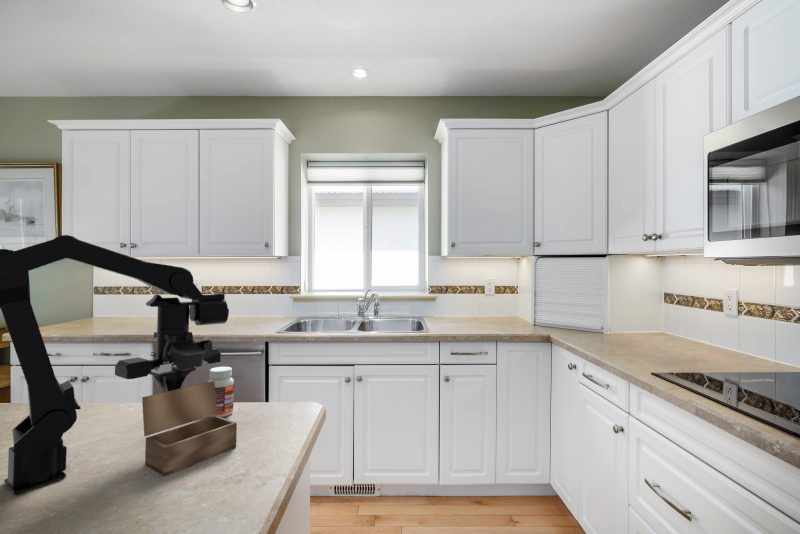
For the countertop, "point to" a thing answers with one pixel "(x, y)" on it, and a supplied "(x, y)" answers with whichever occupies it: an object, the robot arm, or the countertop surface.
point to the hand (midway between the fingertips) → (171, 403)
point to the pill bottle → (223, 390)
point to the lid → (178, 407)
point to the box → (189, 444)
